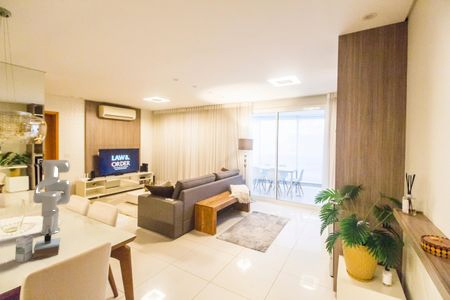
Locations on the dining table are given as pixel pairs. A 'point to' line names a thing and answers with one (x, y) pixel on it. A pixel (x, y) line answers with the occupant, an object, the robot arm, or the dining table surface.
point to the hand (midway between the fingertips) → (47, 239)
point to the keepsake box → (46, 252)
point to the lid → (47, 244)
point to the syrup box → (24, 248)
